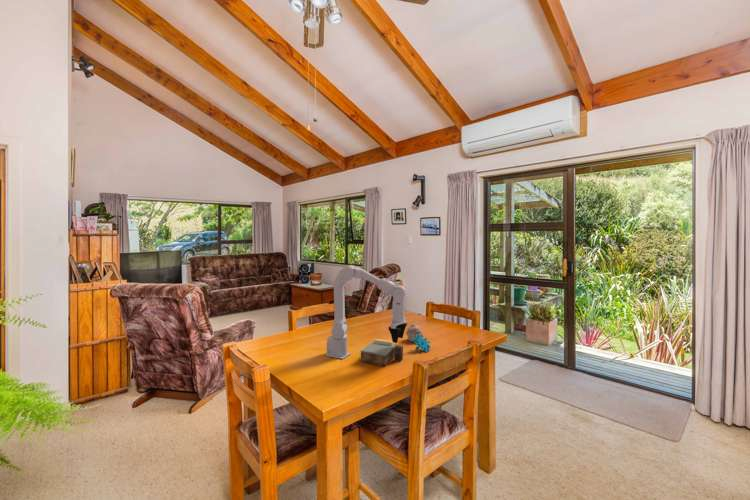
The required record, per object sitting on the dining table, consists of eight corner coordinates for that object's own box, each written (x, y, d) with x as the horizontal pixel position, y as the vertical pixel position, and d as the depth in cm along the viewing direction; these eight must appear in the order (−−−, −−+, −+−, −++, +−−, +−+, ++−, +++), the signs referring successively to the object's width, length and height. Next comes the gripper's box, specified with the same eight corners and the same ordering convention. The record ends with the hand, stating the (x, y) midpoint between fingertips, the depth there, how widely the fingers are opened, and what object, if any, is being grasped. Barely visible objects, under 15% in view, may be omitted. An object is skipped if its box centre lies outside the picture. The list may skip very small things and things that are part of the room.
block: (400, 361, 164) (400, 347, 164) (394, 360, 165) (394, 347, 165) (402, 359, 167) (403, 346, 166) (396, 358, 168) (397, 345, 168)
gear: (420, 351, 173) (412, 333, 179) (413, 357, 177) (405, 339, 183) (435, 350, 180) (427, 333, 186) (429, 356, 183) (421, 338, 189)
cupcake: (420, 344, 189) (421, 326, 189) (403, 342, 192) (404, 324, 192) (423, 339, 198) (424, 321, 198) (407, 337, 201) (408, 320, 201)
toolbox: (360, 362, 162) (360, 352, 162) (373, 352, 176) (373, 343, 176) (384, 366, 158) (385, 356, 157) (396, 355, 171) (396, 346, 171)
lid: (360, 352, 162) (360, 347, 162) (373, 342, 176) (373, 337, 176) (385, 356, 157) (385, 351, 157) (396, 346, 171) (396, 341, 171)
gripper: (401, 315, 157) (400, 345, 158) (411, 309, 170) (410, 336, 171) (386, 314, 160) (386, 343, 161) (397, 307, 173) (396, 334, 174)
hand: (397, 339), depth 166 cm, fingers open, 7 cm apart
